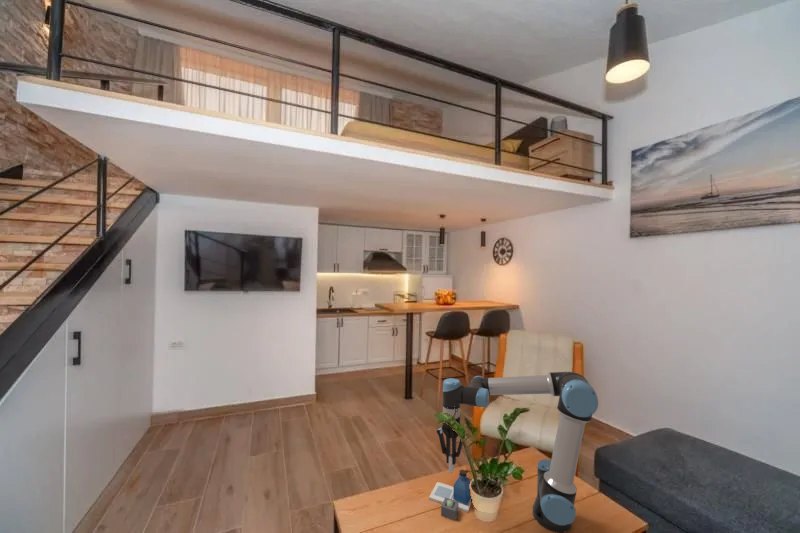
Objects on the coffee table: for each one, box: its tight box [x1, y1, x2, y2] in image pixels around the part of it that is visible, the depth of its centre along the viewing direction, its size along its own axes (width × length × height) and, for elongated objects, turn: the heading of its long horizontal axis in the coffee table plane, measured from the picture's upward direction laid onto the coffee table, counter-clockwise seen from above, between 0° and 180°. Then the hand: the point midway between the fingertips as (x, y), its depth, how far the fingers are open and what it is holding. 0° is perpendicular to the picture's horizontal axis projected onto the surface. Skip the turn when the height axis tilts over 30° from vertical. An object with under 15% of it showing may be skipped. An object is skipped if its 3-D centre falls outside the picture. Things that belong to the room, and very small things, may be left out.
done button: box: [447, 500, 453, 508], centre depth 136 cm, size 3×3×4 cm
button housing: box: [440, 497, 459, 521], centre depth 136 cm, size 6×6×4 cm
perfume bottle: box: [453, 469, 471, 505], centre depth 144 cm, size 6×6×12 cm
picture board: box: [428, 481, 472, 513], centre depth 146 cm, size 18×12×1 cm, turn 65°
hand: (451, 470), depth 136 cm, fingers closed
